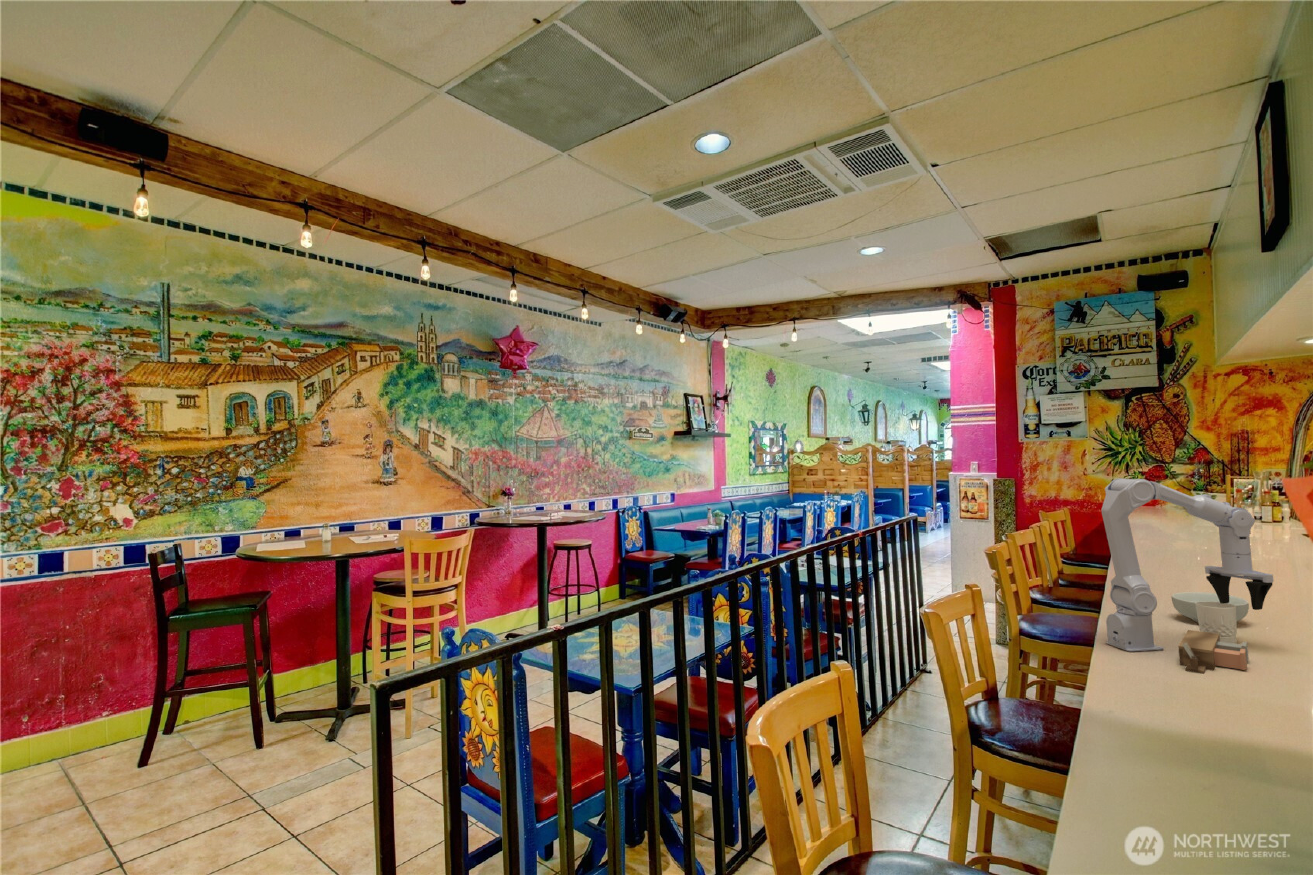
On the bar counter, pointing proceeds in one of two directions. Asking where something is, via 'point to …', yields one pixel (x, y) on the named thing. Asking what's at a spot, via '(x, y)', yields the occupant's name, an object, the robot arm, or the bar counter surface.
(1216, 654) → the flanged terracotta block
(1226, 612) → the white cup
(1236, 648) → the plunger grey
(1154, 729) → the bar counter surface
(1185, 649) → the toggle lever
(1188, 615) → the cereal bowl
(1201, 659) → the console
